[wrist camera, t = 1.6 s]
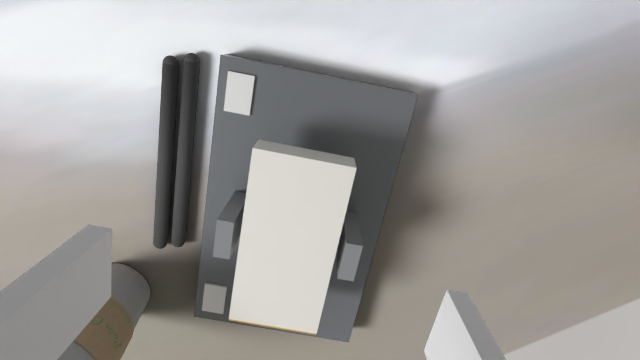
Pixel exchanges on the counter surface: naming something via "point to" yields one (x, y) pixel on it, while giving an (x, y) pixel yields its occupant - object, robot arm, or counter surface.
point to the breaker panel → (311, 133)
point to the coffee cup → (112, 318)
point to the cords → (167, 148)
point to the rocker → (289, 235)
